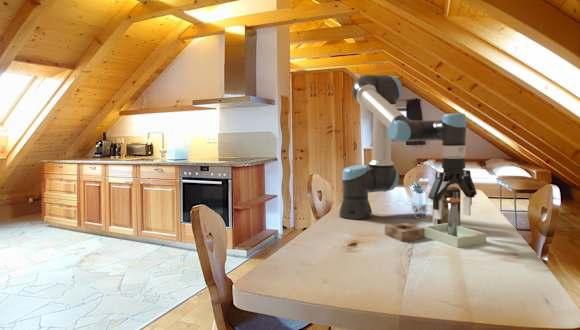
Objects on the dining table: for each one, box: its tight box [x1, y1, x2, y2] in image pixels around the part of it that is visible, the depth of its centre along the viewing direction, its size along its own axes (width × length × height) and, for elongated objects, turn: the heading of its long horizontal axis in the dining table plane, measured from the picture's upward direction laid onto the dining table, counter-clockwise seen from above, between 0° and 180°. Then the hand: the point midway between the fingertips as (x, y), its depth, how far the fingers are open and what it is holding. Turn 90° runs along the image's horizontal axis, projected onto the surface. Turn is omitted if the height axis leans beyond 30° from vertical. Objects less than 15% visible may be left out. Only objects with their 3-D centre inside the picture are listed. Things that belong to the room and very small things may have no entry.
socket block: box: [384, 222, 426, 243], centre depth 134 cm, size 10×10×4 cm
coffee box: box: [432, 186, 461, 226], centre depth 145 cm, size 9×6×16 cm
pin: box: [446, 197, 461, 237], centre depth 130 cm, size 4×4×14 cm
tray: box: [420, 223, 487, 248], centre depth 130 cm, size 17×13×3 cm
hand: (452, 216), depth 130 cm, fingers open, 13 cm apart
